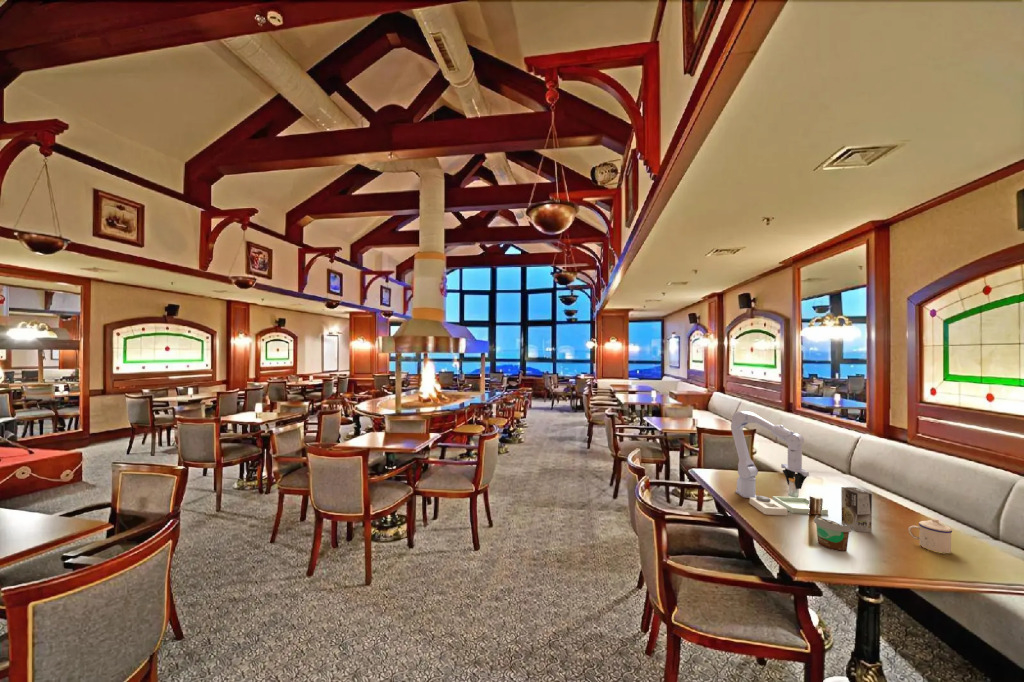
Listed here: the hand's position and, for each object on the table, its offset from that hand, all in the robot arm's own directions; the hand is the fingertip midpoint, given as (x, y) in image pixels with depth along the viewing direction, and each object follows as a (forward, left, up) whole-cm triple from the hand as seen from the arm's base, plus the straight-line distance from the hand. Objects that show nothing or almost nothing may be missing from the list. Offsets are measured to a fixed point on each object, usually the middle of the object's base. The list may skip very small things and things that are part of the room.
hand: (794, 486), depth 200 cm
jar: (0, -1, -4) cm, 5 cm away
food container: (+41, -12, -11) cm, 44 cm away
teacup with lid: (+37, +29, -11) cm, 48 cm away
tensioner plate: (+3, -14, -10) cm, 17 cm away
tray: (-1, +3, -10) cm, 11 cm away
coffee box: (+20, +14, -11) cm, 26 cm away
